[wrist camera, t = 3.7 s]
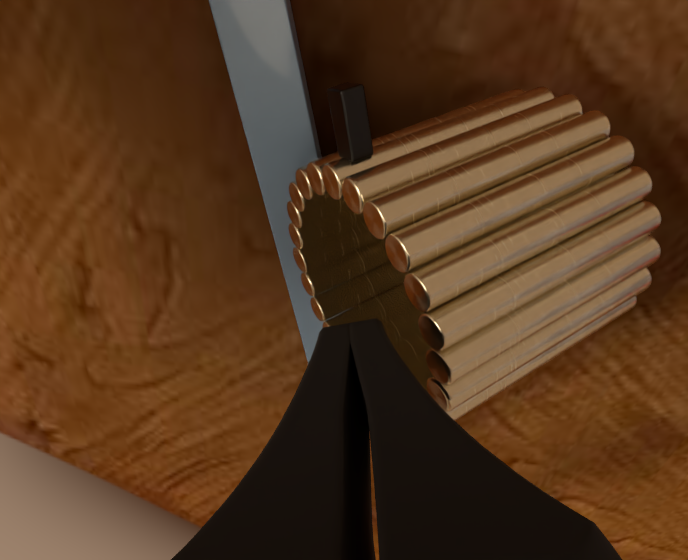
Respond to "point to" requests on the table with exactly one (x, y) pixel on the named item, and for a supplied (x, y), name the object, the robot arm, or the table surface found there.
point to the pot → (475, 235)
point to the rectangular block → (273, 121)
